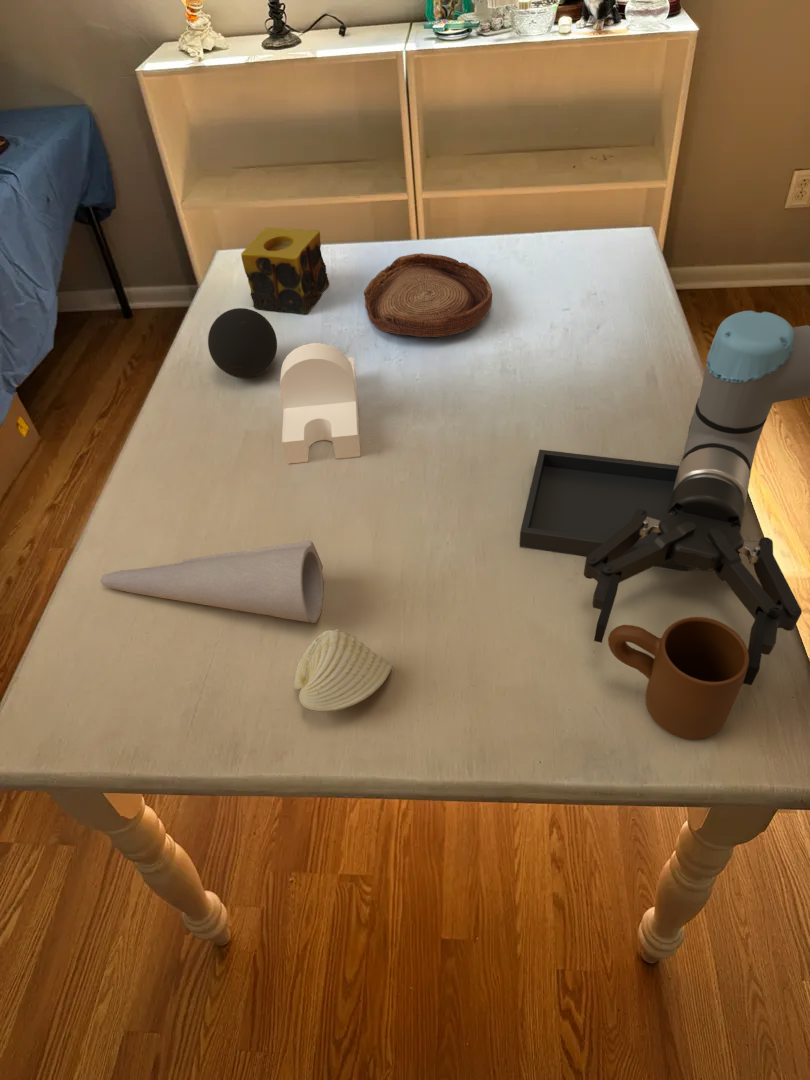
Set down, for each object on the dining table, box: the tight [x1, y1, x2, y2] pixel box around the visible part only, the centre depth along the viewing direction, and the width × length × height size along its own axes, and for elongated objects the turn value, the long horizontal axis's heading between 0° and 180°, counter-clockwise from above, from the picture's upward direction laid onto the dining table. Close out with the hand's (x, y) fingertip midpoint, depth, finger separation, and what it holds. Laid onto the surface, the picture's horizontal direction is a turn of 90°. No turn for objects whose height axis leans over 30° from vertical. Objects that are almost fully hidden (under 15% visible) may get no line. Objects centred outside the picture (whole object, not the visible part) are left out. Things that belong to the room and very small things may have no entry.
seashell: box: [293, 628, 393, 713], centre depth 77 cm, size 8×8×8 cm
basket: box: [363, 252, 493, 338], centre depth 126 cm, size 22×20×5 cm
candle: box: [240, 227, 330, 315], centre depth 130 cm, size 10×10×10 cm
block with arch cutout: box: [279, 342, 361, 465], centre depth 106 cm, size 18×10×11 cm, turn 4°
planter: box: [100, 540, 324, 624], centre depth 86 cm, size 8×9×26 cm
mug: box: [607, 616, 749, 740], centre depth 72 cm, size 12×8×9 cm, turn 64°
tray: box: [519, 449, 690, 572], centre depth 92 cm, size 15×19×3 cm
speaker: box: [207, 307, 278, 379], centre depth 116 cm, size 10×10×10 cm
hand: (672, 654), depth 72 cm, fingers open, 13 cm apart
